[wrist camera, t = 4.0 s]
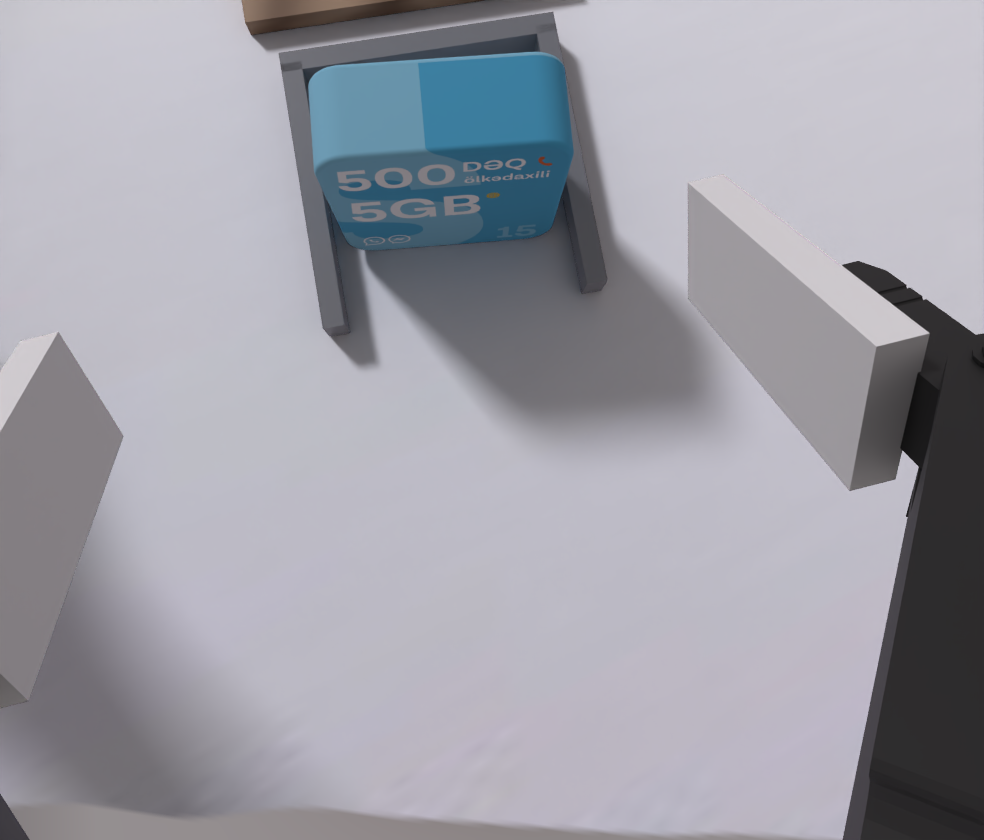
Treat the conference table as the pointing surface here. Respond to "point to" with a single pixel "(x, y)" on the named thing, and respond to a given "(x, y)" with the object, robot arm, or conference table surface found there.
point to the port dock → (325, 11)
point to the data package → (442, 148)
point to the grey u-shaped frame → (431, 44)
